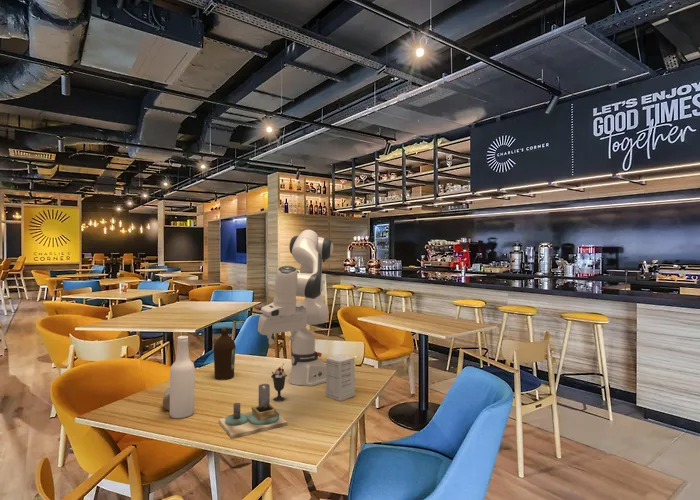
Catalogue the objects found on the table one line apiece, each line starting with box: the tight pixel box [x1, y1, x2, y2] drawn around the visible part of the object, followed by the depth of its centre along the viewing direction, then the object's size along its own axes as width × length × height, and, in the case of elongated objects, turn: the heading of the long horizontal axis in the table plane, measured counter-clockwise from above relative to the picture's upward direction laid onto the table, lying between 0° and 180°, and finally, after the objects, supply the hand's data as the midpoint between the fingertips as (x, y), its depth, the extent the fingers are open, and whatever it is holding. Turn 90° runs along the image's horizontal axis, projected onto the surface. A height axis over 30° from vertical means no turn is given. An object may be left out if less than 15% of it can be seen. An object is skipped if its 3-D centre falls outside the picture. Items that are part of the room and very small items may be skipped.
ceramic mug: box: [162, 387, 170, 412], centre depth 160 cm, size 11×8×8 cm
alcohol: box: [169, 335, 196, 420], centre depth 153 cm, size 9×9×30 cm
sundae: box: [271, 363, 288, 402], centre depth 169 cm, size 7×7×15 cm
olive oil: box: [213, 326, 236, 381], centre depth 200 cm, size 11×11×25 cm
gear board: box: [218, 402, 288, 440], centre depth 144 cm, size 20×16×7 cm
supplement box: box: [325, 354, 356, 402], centre depth 173 cm, size 10×9×17 cm
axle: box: [258, 383, 271, 412], centre depth 145 cm, size 4×4×11 cm
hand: (281, 342), depth 155 cm, fingers open, 8 cm apart
